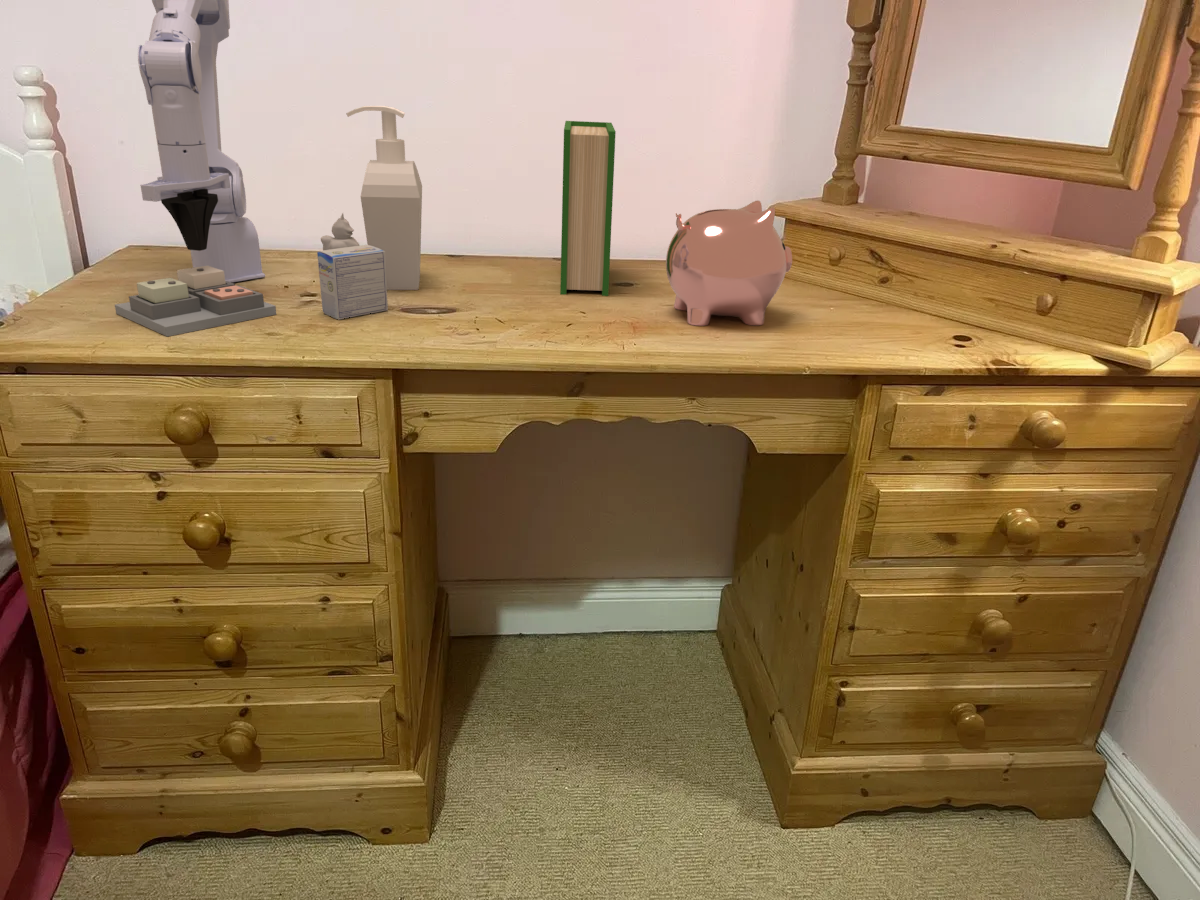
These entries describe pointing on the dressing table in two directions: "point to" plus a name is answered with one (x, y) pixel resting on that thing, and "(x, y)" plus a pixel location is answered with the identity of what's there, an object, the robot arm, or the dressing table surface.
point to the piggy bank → (727, 264)
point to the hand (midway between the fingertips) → (197, 249)
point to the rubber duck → (339, 236)
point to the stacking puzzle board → (194, 311)
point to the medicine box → (352, 281)
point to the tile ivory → (201, 277)
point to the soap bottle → (393, 204)
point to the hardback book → (587, 205)
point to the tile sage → (162, 290)
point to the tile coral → (228, 292)
